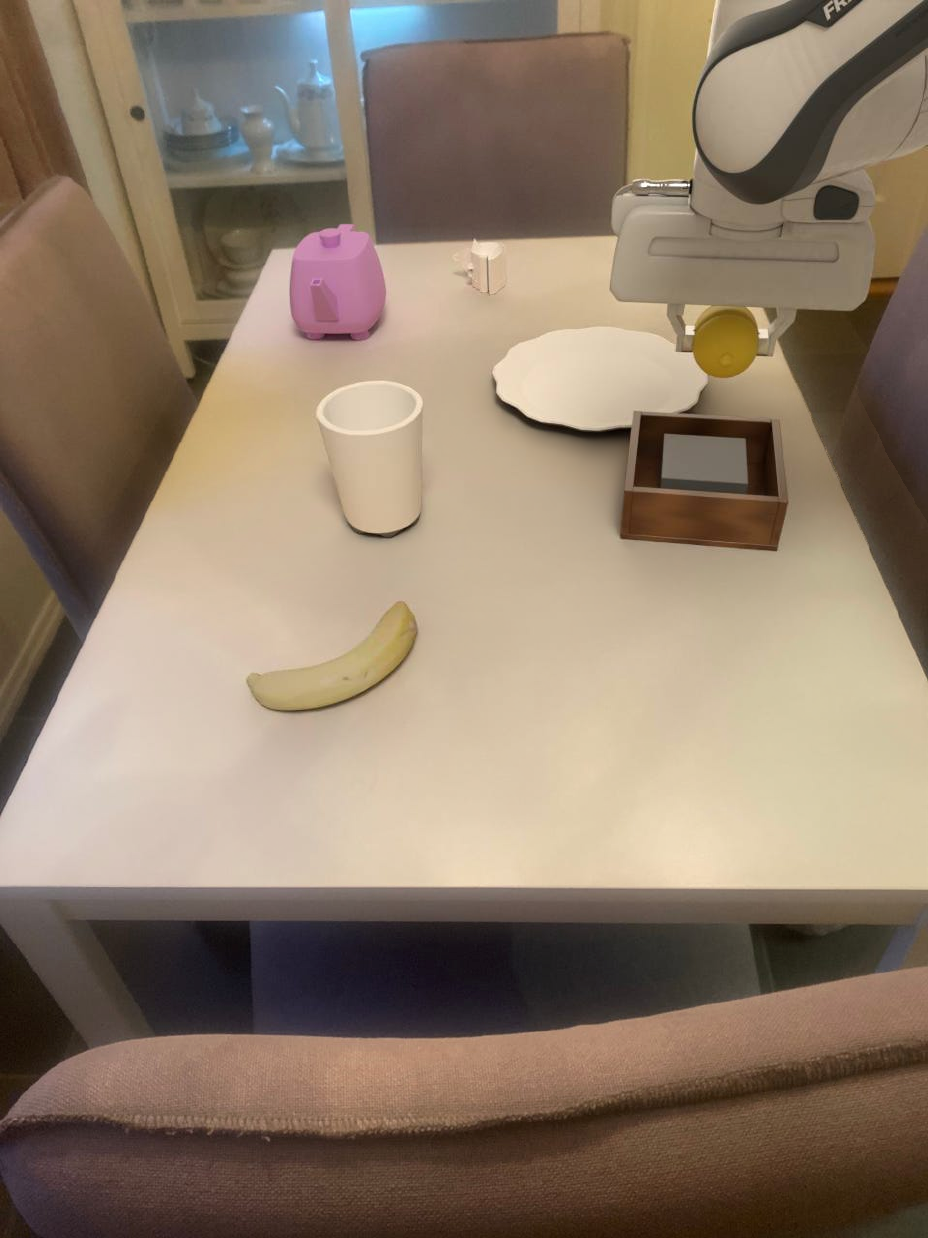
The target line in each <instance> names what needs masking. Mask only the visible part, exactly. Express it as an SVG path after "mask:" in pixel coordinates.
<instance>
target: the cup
mask: <svg viewBox="0 0 928 1238" xmlns="http://www.w3.org/2000/svg"><path fill="white" fill-rule="evenodd" d="M423 409H424V403H423V397H422V396H421V395H420V393H419V392H417V391H416V390H415V389H413V388H412V387H410V386H408V385H405V384H402V383H399V382H395V381H390V380H367V381H360V382H359V381H358V382H356V383H350V384H347V385H344V386H342V387H337V389H335V390H334V391H332V392H329V394H327V395H326V396H325V397H324V398H323V399H321V400H320V402H319V404H318V405H317V407H316V410H315V411H316V412H315V417H316V420H317V421H316V422H317V425H318V427H319V431H320V434H321V438H322V442H323V446H324V449H325V452H326V455H327V458H328V459H327V460H328V463H329V465H330V469H331V473H332V476H333V480H334V483H335V485H336V486H335V487H336V490H337V493H338V497H339V500H340V503H341V507H342V511H343V514H344V517H345V519H346V521H347V522H348V524H349V526H350V527H351V528H352V530H353V531H355V533H357V534H366V533H368V534H373V535H374V534H375V535H379V536H381V537H384V538H388V539H389V538H393V537H394V536H395V535H397V534H398V533H399V532H401V531H402V530H403V529H405V528H407V527H409V526H412V525H415V524H417V523H418V521H419V519H420V516H421V510H422V478H423V477H422V475H423V472H422V471H423V470H422V469H423V464H422V463H423V417H424V415H423V414H424V413H423V411H424V410H423Z"/></svg>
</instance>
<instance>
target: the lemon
mask: <svg viewBox="0 0 928 1238" xmlns="http://www.w3.org/2000/svg"><path fill="white" fill-rule="evenodd" d="M694 326H695V336H694V339H693V344H692V350H693V352H692V353H693V355H694V359H695V361H696V363H697V365H698V366H699V367H700V369H701V370H703V371H704V372H705V373H706V374H707V375H708V376H710V377H713V378H716V379H717V378H718V379H728V378H729V379H730V378H734V377H736V376H739V375H740V374H742V373H744V372H745V371H746V370H748V368H749V367H750V366H751V365H752V364H753V363H754V361H755V359H756V357H757V356H756V355H757V352H758V347H759V336H758V329H759V327H758V323H757V319H756V318H755V316H754V314H753V313H752V311H751V310H750V309H749V308H748V307H736V306H711V305H709V307H707V308H706V309H705V310H704V311H703V312H702V313H701V314H700V315H699V317H697V319H696V322H695V324H694Z"/></svg>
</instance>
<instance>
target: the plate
mask: <svg viewBox="0 0 928 1238" xmlns="http://www.w3.org/2000/svg"><path fill="white" fill-rule="evenodd" d="M675 348H676V343H672V341H669V340H668V339H666V338H664V337H663V336H662V335H659V334H656V333H655V334H654V333H652V332H648V331H639V330H629V329H624V328H621V327H615V326H591V327H585V328H583V327H582V328H562V329H557V330H553V331H548V332H546V333H544V334H542V335H539V336H537V337H536V338H532V339H528V340H525V341H522V342H519V343H518V344H516V345H514V346H512V347H511V348H509V349H508V351H507V353H506V354H505V356H504V357H503V358H502V359H501V360H500V361H499V362H498V363H496V364H494V366H493V369H492V372H491V376H492V378H493V380H494V382H495V383H496V387H495V388H496V389H495V395H497V397H498V398H499V400H500V401H502V402H503V403H504V404H507V405H508V406H510V407H513V408H514V409H517V410H518V411H519V412H520V413H521V414H522V415H523V416H524V417H526V418H527V419H529V420H532V421H535V422H537V423H539V424H542V425H551V426H560V427H564V428H569V429H571V430H575V431H579V432H584V433H585V432H586V433H605V432H609V431H615V430H631V429H632V420H633V411H641V412H642V411H644V412H662V413H680V414H684V413H686V412H688V411H690V410H691V409H692V408H694V407H695V406H696V405H697V404H698V401H699V398H700V394H701V393H702V392H703V390H704V389H705V388H706V387H708V384H709V378H708V377H709V375H708V374H706V373H705V372H704V371H703V370H701V369H700V367H699V366H698V365H697V363H696V361H695V359H694V355H693V352H675Z"/></svg>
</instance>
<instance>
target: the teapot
mask: <svg viewBox="0 0 928 1238" xmlns="http://www.w3.org/2000/svg"><path fill="white" fill-rule="evenodd" d="M288 293H289V307H290V314H291V318H292V320H293V322H294V324H295V325H296V327H297V328H298V329H299V331H301V332H303V333H306V338H307V339H308V340H320V339H322V338H324V337H325V336H326V334H349V335H350V337H351V339H353V340H357V341H360V340H366V339H368V338H369V337H370V336H371V333H370V332H369V330H370V329H371V328H372V327H373V326H374V325H375V324H376V323H377V322H378V320H379V319H380V317H381V315H382V312H383V311H384V307H385V303H386V299H387V288H386V280H385V275H384V272H383V267H382V264H381V261H380V258H379V255H378V252H377V250H376V248H375V245H374V243H373V240H372V238H371V236H370V235H369V233H368V232H365V231H356V228H355V224H354V223H340V224H338V227H337V228H334V227H329V228H325V229H322V230H320V231H314V232H311V233H309V234H307V235H306V236H305V237H304V238H302V240H301V241H300V242H299V243H298V244H297V246H296V248H295V249H294V251H293V254H292V260H291V265H290V274H289V291H288Z"/></svg>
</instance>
